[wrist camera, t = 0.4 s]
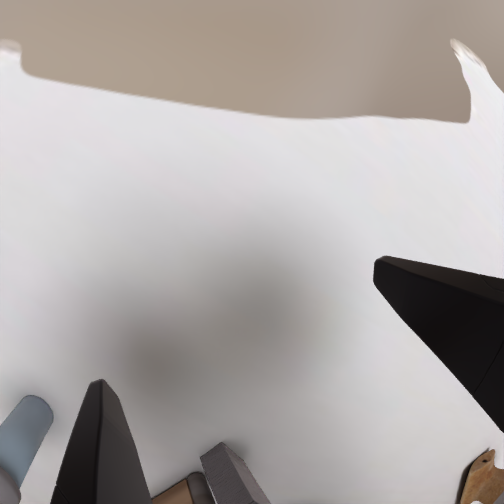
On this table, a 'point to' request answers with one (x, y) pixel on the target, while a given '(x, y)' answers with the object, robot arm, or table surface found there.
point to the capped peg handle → (21, 444)
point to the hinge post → (231, 478)
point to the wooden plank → (187, 492)
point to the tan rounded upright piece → (483, 481)
